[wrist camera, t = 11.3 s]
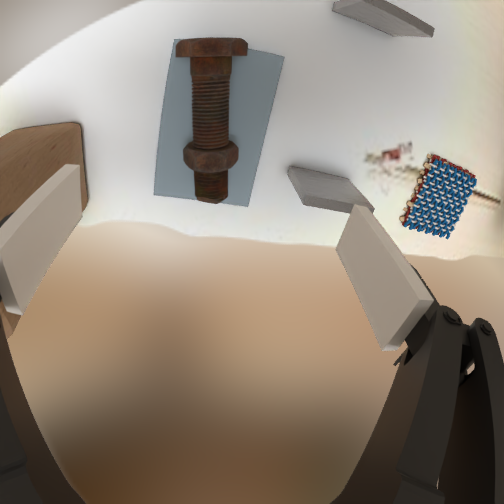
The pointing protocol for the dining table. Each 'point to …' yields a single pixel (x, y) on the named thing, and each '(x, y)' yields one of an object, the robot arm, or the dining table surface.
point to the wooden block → (35, 172)
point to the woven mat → (439, 197)
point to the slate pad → (240, 125)
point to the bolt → (211, 113)
